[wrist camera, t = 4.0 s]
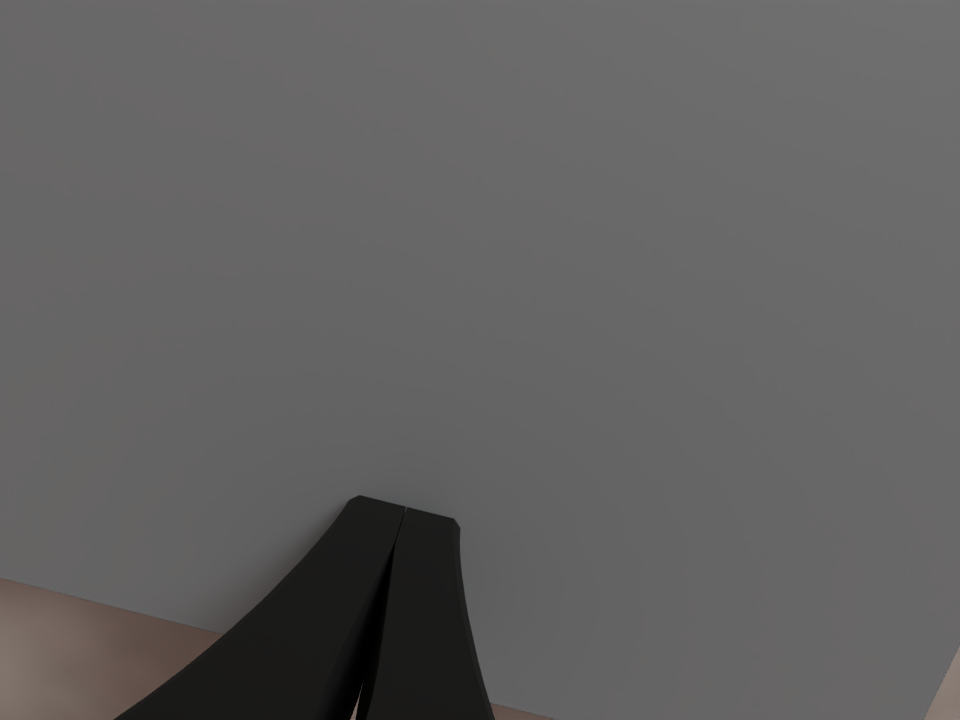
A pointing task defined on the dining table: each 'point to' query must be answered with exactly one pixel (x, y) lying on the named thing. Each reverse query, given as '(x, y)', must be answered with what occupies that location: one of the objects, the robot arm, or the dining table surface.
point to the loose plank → (502, 327)
